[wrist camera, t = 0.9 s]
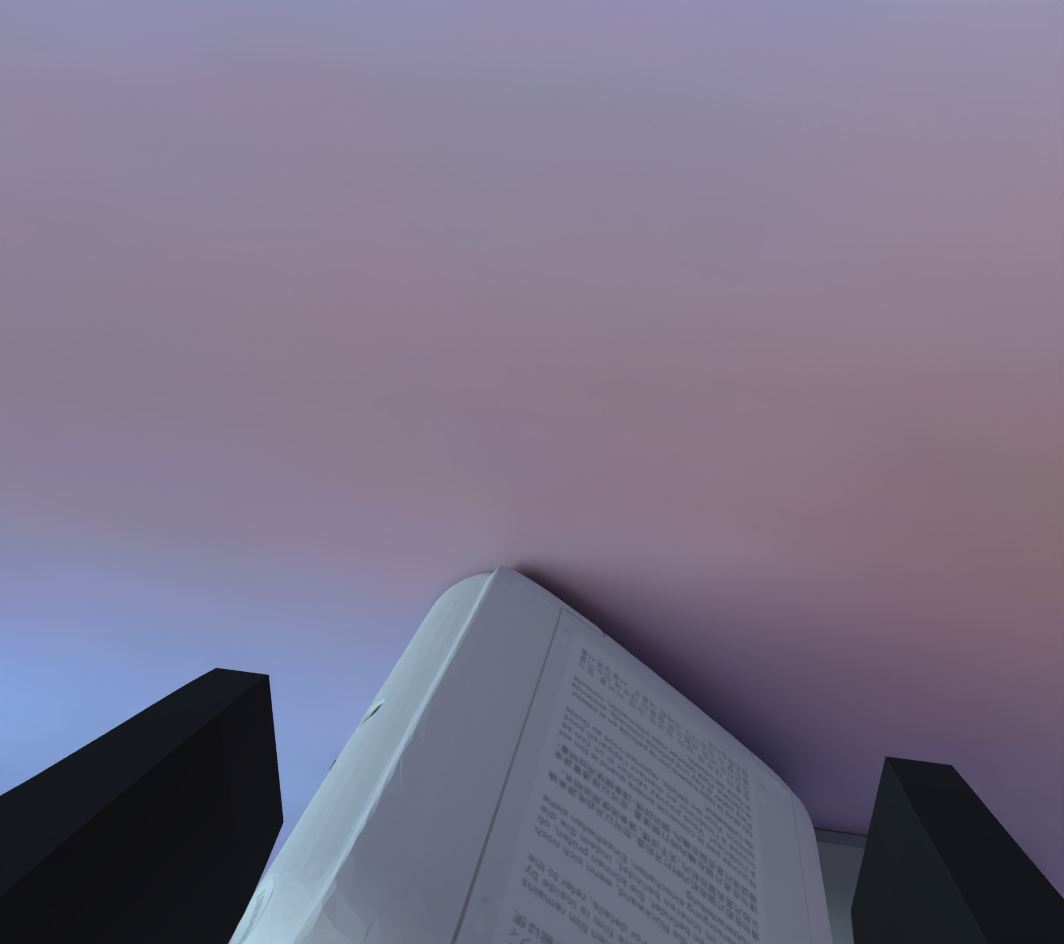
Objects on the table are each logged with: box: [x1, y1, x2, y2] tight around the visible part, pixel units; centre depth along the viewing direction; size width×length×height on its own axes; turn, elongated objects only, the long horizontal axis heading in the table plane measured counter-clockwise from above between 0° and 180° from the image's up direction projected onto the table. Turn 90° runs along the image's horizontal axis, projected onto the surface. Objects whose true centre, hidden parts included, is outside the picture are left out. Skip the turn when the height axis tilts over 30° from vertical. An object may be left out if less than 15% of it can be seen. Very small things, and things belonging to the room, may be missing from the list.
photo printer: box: [230, 566, 833, 944], centre depth 16 cm, size 10×4×12 cm, turn 53°
